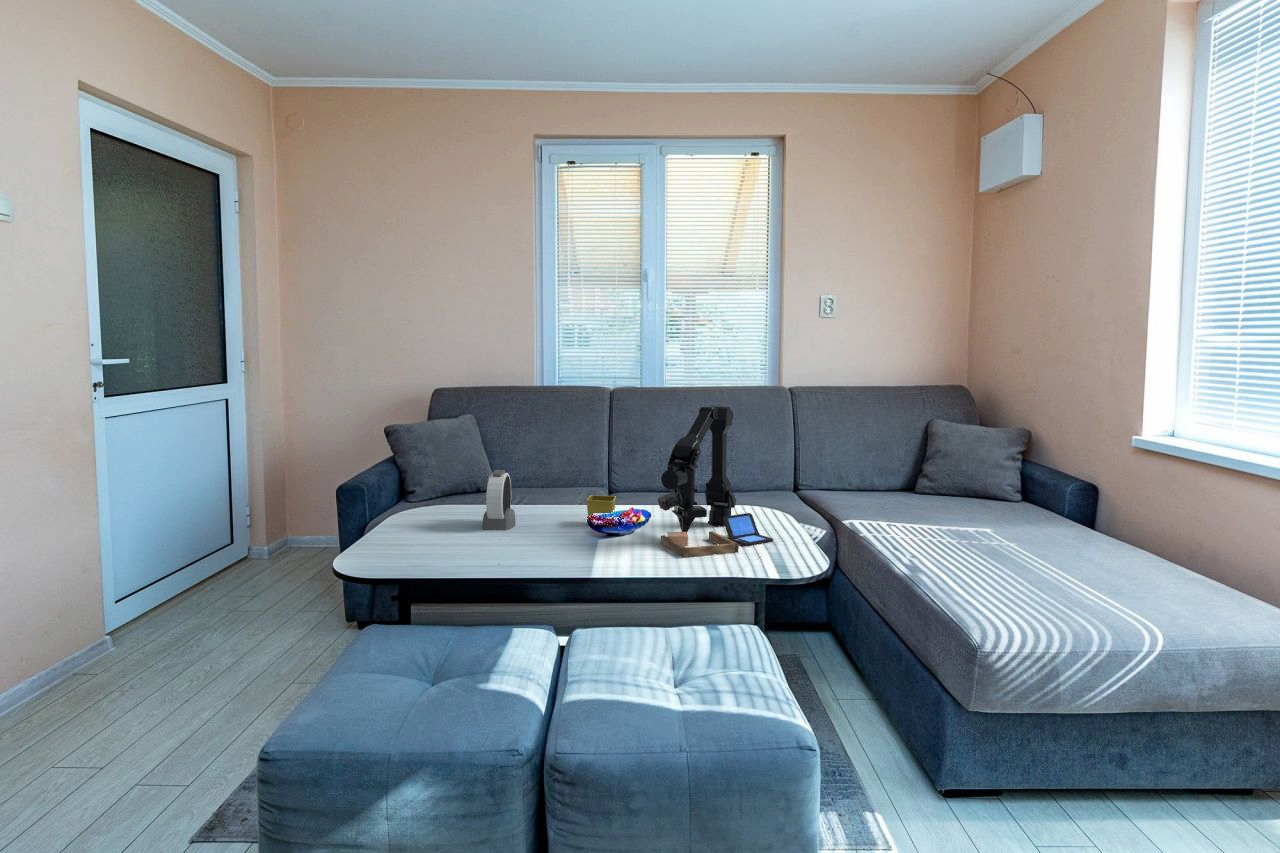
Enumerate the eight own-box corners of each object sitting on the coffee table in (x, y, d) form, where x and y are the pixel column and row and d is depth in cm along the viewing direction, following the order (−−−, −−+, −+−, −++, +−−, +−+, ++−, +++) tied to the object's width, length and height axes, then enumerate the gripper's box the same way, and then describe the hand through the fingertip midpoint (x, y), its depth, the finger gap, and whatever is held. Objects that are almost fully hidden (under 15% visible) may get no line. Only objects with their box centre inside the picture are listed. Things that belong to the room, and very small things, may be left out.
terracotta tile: (686, 541, 238) (687, 531, 238) (687, 546, 232) (687, 536, 232) (667, 541, 238) (667, 531, 238) (667, 546, 232) (667, 536, 232)
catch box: (712, 539, 241) (712, 531, 240) (738, 552, 226) (738, 543, 225) (660, 543, 234) (660, 535, 234) (684, 557, 219) (684, 548, 219)
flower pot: (616, 522, 262) (616, 495, 261) (612, 528, 253) (613, 500, 252) (590, 521, 263) (590, 494, 262) (585, 527, 254) (586, 499, 253)
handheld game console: (745, 548, 232) (746, 523, 231) (720, 540, 241) (721, 516, 240) (775, 542, 239) (775, 518, 239) (750, 535, 248) (751, 512, 247)
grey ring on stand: (510, 532, 246) (510, 474, 244) (477, 531, 246) (477, 474, 244) (519, 520, 262) (519, 466, 260) (488, 519, 262) (488, 466, 260)
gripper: (649, 480, 243) (648, 529, 245) (673, 491, 226) (672, 544, 227) (681, 478, 247) (680, 526, 249) (708, 489, 230) (707, 541, 231)
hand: (684, 534), depth 239 cm, fingers closed
